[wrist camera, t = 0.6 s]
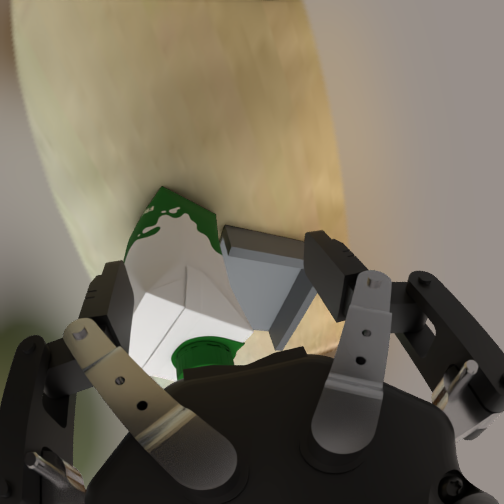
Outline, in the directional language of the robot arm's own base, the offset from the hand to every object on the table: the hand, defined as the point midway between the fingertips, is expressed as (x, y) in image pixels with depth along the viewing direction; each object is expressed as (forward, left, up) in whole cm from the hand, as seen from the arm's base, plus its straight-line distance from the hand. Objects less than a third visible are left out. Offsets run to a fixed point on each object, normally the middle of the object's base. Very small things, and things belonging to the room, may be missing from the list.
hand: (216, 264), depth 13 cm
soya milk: (+9, 0, -21) cm, 23 cm away
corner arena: (+16, +12, -20) cm, 29 cm away
